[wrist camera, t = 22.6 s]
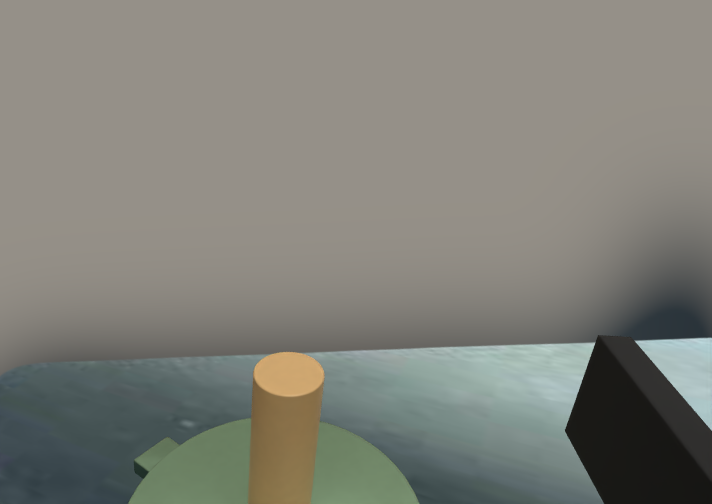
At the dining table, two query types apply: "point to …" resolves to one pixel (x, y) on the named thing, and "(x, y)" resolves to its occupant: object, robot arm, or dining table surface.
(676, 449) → the robot arm
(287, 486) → the lid
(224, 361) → the dining table surface
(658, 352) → the dining table surface
